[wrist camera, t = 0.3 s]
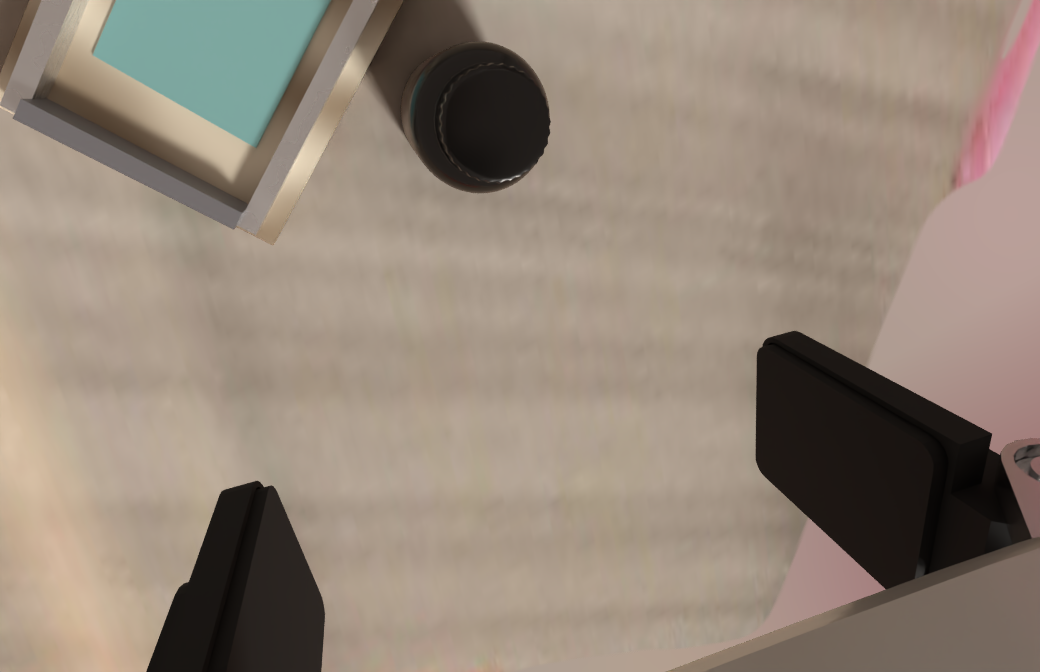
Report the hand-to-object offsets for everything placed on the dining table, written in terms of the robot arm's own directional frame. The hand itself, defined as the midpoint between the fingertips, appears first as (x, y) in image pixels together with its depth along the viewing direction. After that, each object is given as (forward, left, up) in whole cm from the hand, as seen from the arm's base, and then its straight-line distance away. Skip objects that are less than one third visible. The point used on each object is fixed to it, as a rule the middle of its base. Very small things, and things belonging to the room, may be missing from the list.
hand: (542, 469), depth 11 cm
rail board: (-3, -13, -28) cm, 31 cm away
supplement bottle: (-6, -1, -29) cm, 29 cm away
